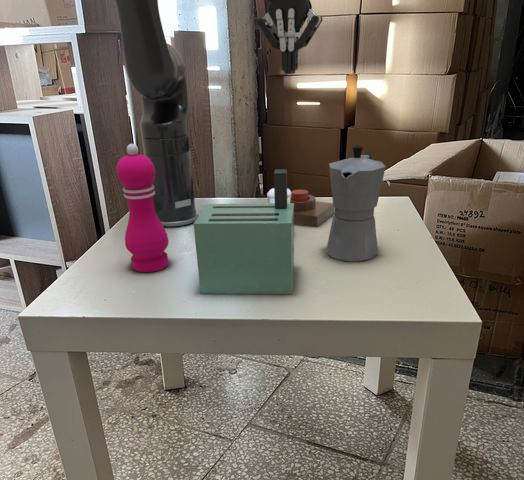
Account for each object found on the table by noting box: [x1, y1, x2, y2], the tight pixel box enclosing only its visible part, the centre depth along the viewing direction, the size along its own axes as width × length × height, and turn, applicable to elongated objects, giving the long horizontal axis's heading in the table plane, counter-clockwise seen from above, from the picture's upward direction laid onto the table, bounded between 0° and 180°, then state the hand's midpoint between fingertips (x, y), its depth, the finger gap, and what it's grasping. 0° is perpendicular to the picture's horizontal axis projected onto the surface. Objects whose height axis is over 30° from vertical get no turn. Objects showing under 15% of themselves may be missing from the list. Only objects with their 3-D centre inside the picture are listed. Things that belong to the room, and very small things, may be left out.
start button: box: [291, 189, 310, 201], centre depth 109 cm, size 4×4×2 cm
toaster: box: [192, 202, 295, 295], centre depth 80 cm, size 14×10×11 cm
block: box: [291, 194, 335, 228], centre depth 110 cm, size 12×10×4 cm
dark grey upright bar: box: [273, 168, 288, 208], centre depth 78 cm, size 2×2×5 cm
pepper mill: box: [115, 143, 170, 273], centre depth 85 cm, size 7×7×20 cm
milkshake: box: [266, 187, 292, 203], centre depth 99 cm, size 4×5×10 cm
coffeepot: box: [326, 144, 387, 263], centre depth 88 cm, size 15×9×18 cm, turn 157°
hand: (289, 73), depth 102 cm, fingers closed
